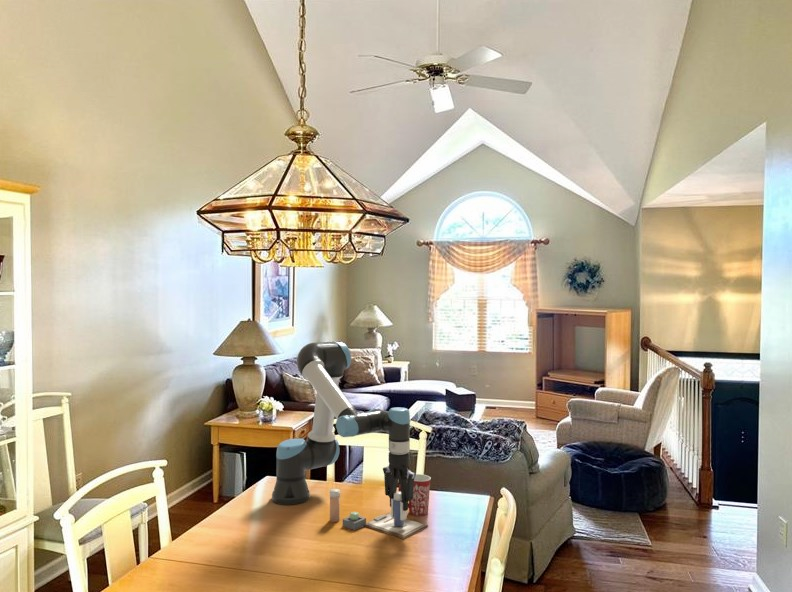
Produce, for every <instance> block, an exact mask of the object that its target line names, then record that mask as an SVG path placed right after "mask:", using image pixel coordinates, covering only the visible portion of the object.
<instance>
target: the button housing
mask: <svg viewBox="0 0 792 592" xmlns="http://www.w3.org/2000/svg"><path fill="white" fill-rule="evenodd" d="M365 523H367V518H366V517H364V516H360V515H359V520H358V521H355V522H354V521H351V520H350V515H348V516H347V517H344V518H342V526H343V527H344V528H347V529H349V530H353V531H356V530H359V529H361V528H363V527H365V526H364V524H365Z"/></svg>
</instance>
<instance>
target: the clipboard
mask: <svg viewBox="0 0 792 592" xmlns="http://www.w3.org/2000/svg"><path fill="white" fill-rule="evenodd" d="M428 526H429V525H428V524H426V523H423V522H421V521H417V520H415V519H414V520H413V519H412V518H411V519H410V518H406V519H404V525H402V526H395V525H394V517H393V518H392V517H391V512H388V513H386V514H381V515H378V516H375V518H374V517H373V519H372V520H369V521H368V522H367V521H366V523H365V524H364V526H363V527H366V528H369V529H372V530H375V531H379V532H381V533H384V534H387V535H390V536H393V537H395V538H399V539H402V540H405V539H407V538H408V537H409V538H410V536H412V535H414V534H416V533H417V534H418V532H420V531H422V530H424V529H427V528H428Z"/></svg>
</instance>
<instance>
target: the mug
mask: <svg viewBox="0 0 792 592" xmlns="http://www.w3.org/2000/svg"><path fill="white" fill-rule="evenodd" d="M407 479H408V477H407ZM431 479H432V477H431V476H429V475H427V474H421V473H416V476H415V478H414V490H413V499H412V500H410V501H408V512H409V514H410V515H413V516H417V517H418V516H419V517H422V516H426V515H428V514H429V502H430V489H431V488H430V487H431ZM397 489H398V490H397V492H401V487H400V484H399V486H398V487H397Z"/></svg>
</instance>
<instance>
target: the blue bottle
mask: <svg viewBox="0 0 792 592" xmlns="http://www.w3.org/2000/svg"><path fill="white" fill-rule="evenodd" d="M400 501H402V495H401V492H399V491H396V492H394V525H395V526H402V525H404V520H400Z"/></svg>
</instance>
